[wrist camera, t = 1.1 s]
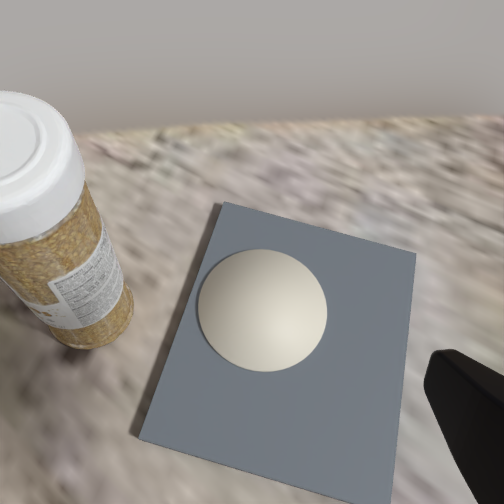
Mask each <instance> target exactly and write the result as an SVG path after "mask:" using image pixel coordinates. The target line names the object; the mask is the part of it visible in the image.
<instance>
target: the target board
mask: <svg viewBox="0 0 504 504" xmlns="http://www.w3.org/2000/svg"><path fill="white" fill-rule="evenodd" d="M415 263H416V253H413V252H409V251H405V250H401V249H398V248H394V247H390V246H387V245H383V244H379V243H376V242H372V241H368V240H365V239H361V238H357V237H354V236H350V235H346V234H342V233H339V232H335V231H331V230H328V229H324V228H320V227H317V226H313V225H309V224H306V223H302V222H298V221H295V220H291V219H287V218H283V217H280V216H276V215H272V214H269V213H265V212H261V211H258V210H254V209H250V208H247V207H243V206H239V205H235V204H232V203H228V202H224V203H223V206H222V209H221V211H220V214H219V217H218V220H217V222H216V225H215V228H214V231H213V233H212V236H211V239H210V242H209V244H208V247H207V250H206V253H205V255H204V258H203V261H202V264H201V267H200V269H199V272H198V275H197V278H196V280H195V283H194V286H193V289H192V291H191V294H190V297H189V300H188V302H187V305H186V308H185V311H184V313H183V316H182V319H181V322H180V324H179V327H178V330H177V333H176V335H175V338H174V341H173V344H172V346H171V349H170V352H169V355H168V358H167V360H166V363H165V366H164V369H163V371H162V374H161V377H160V380H159V382H158V385H157V388H156V391H155V393H154V396H153V399H152V402H151V404H150V407H149V410H148V413H147V415H146V418H145V421H144V424H143V426H142V429H141V432H140V435H139V437H138V439H139V440H142V441H145V442H149V443H152V444H155V445H159V446H162V447H165V448H169V449H172V450H175V451H178V452H182V453H185V454H188V455H192V456H195V457H198V458H202V459H205V460H208V461H212V462H215V463H218V464H222V465H225V466H228V467H231V468H235V469H238V470H241V471H245V472H248V473H251V474H255V475H258V476H261V477H265V478H268V479H271V480H274V481H278V482H281V483H284V484H288V485H291V486H294V487H298V488H301V489H304V490H308V491H311V492H314V493H318V494H321V495H324V496H327V497H331V498H334V499H337V500H341V501H344V502H347V503H351V504H391V494H392V485H393V475H394V465H395V456H396V446H397V436H398V427H399V417H400V408H401V398H402V388H403V379H404V369H405V360H406V350H407V340H408V331H409V321H410V311H411V302H412V292H413V283H414V273H415Z"/></svg>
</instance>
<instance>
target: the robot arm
mask: <svg viewBox="0 0 504 504" xmlns="http://www.w3.org/2000/svg"><path fill="white" fill-rule="evenodd" d="M424 391H425V394H426V396H427V399H428V401H429V403H430V405H431V408H432V410H433V412H434V415H435V417H436V419H437V422H438V424H439V426H440V428H441V431H442V433H443V435H444V438H445V440H446V442H447V445H448V447H449V449H450V452H451V454H452V456H453V458H454V460H455V462H456V464H457V466H458V468H459V470H460V472H461V474H462V476H463V477H464V479H465V481H466V483H467V485H468V486H469V488H470V490H471V492H472V494H473V495H474V497H475V499H476V501H477V503H478V504H504V376H503V375H501V374H499V373H498V372H496V371H494V370H492V369H490V368H488V367H486V366H485V365H483V364H481V363H479V362H477V361H475V360H473V359H472V358H470V357H468V356H466V355H464V354H462V353H460V352H459V351H457V350H454V349H445V350H436V351H434V352H433V353H432V354H431V357H430V360H429V364H428V367H427V371H426V374H425V378H424Z"/></svg>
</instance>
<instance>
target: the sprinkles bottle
mask: <svg viewBox="0 0 504 504" xmlns="http://www.w3.org/2000/svg"><path fill="white" fill-rule="evenodd" d="M0 278H1V279H2V280H3V281H4V282H5V283H6V284H7V285H8V286H9V287H10V289H11V290H12V291H13V292H14V293H15V294H16V295H17V296H18V297H19V298H20V299H21V300H22V301H23V302H24V303H25V304H26V305H27V307H28V308H29V309H30V310H31V311H32V312H33V313H34V314H35V315H36V316H37V317H38V318H39V319H40V320H41V321H43V322H44V323H46V324H47V325H48V326H49V329H50V331H51V333H52V334H53V335H54V336H55V337H56V339H58V340H59V341H60V342H62V343H63V344H65V345H67V346H70V347H72V348H75V349H92V348H98V347H101V346H103V345H106V344H108V343H110V342H112V341H114V340H115V339H116V338H117V337H118V336H119V335H120V334H121V333H122V332H123V331H124V330H125V329H126V327H127V326H128V325H129V322H130V320H131V317H132V315H133V307H134V302H133V296H132V293H131V291H130V289H129V287H128V286H127V284H126V283H125V282H124V280H123V274H122V270H121V268H120V265H119V262H118V260H117V257H116V254H115V252H114V249H113V246H112V244H111V241H110V238H109V236H108V233H107V231H106V228H105V225H104V223H103V220H102V217H101V215H100V213H99V211H98V209H97V207H96V206H95V204H94V202H93V199H92V197H91V195H90V192H89V190H88V187H87V185H86V182H85V168H84V163H83V159H82V157H81V154H80V151H79V149H78V146H77V144H76V141H75V139H74V137H73V134H72V132H71V130H70V128H69V126H68V124H67V122H66V120H65V119H64V118H63V116H62V115H61V114H60V113H59V112H58V111H57V110H55V108H53V107H52V106H51V105H49V104H48V103H46V102H45V101H43V100H41V99H38V98H36V97H34V96H30V95H27V94H24V93H19V92H12V91H0Z"/></svg>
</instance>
